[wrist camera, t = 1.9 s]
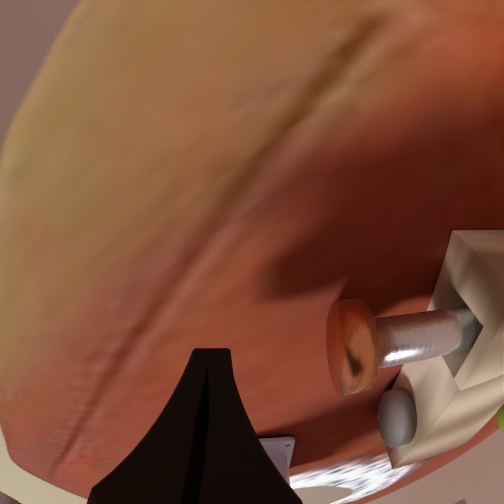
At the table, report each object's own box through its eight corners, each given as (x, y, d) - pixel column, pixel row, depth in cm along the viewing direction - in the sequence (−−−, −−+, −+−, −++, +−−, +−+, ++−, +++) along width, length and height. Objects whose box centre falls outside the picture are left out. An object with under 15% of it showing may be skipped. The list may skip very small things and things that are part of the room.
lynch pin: (502, 314, 15) (532, 355, 11) (322, 345, 15) (339, 412, 11) (524, 263, 13) (563, 302, 9) (333, 280, 13) (361, 351, 9)
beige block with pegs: (481, 385, 20) (501, 425, 16) (365, 418, 20) (379, 472, 16) (560, 230, 12) (605, 269, 8) (436, 230, 12) (500, 296, 8)
